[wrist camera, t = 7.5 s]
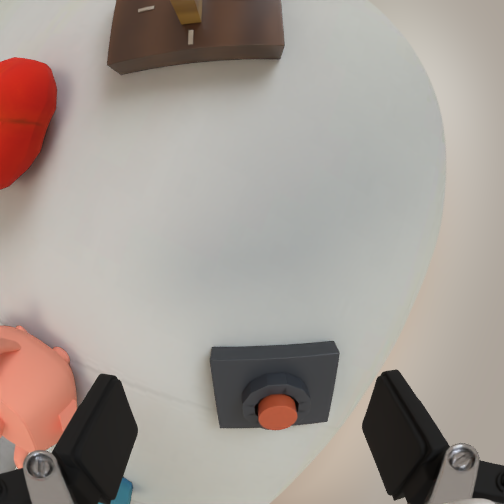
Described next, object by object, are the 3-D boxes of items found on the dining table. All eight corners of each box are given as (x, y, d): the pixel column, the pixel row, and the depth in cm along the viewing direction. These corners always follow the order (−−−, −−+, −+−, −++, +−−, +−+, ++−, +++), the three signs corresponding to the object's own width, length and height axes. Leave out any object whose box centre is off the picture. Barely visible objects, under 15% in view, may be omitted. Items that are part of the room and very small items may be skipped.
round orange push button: (296, 392, 25) (298, 404, 23) (294, 416, 26) (296, 428, 24) (257, 394, 25) (257, 407, 23) (257, 418, 26) (258, 431, 24)
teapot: (119, 398, 29) (79, 482, 16) (54, 418, 31) (19, 476, 18) (34, 289, 25) (-44, 347, 12) (-11, 336, 27) (-64, 382, 14)
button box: (333, 340, 27) (345, 364, 23) (323, 409, 30) (330, 433, 26) (212, 346, 27) (207, 372, 23) (220, 414, 30) (218, 440, 26)
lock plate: (274, -22, 18) (277, -40, 15) (280, 59, 20) (284, 44, 17) (130, -6, 18) (120, -21, 15) (120, 75, 20) (105, 64, 17)
